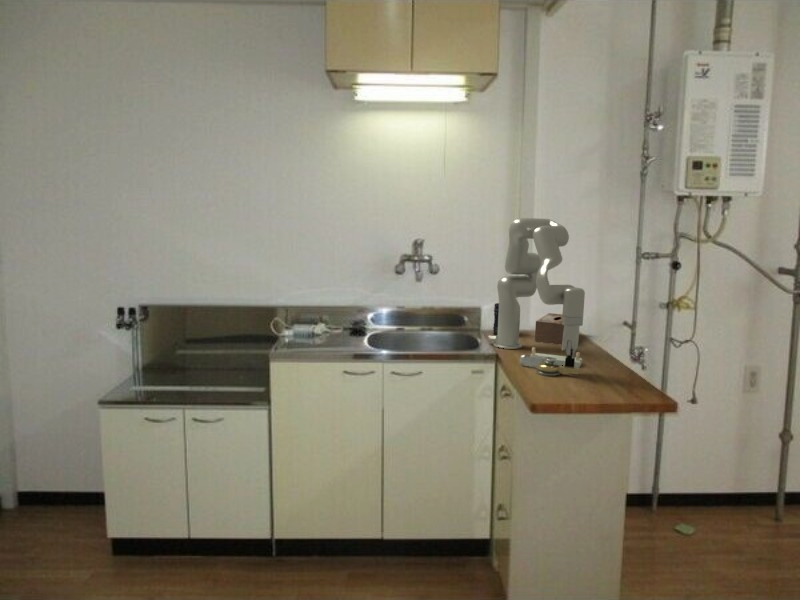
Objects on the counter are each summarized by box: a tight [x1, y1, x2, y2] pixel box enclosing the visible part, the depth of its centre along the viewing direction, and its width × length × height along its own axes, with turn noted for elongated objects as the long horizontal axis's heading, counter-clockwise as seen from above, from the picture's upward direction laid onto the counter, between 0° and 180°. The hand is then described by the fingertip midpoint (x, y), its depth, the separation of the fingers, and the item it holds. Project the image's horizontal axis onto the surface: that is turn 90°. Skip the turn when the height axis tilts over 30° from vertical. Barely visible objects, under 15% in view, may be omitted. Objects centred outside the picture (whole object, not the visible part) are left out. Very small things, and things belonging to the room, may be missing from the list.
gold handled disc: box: [537, 360, 580, 375], centre depth 229 cm, size 15×8×3 cm, turn 67°
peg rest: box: [530, 347, 583, 368], centre depth 247 cm, size 20×8×5 cm, turn 67°
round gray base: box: [535, 368, 562, 377], centre depth 231 cm, size 9×9×1 cm
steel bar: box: [519, 353, 556, 368], centre depth 240 cm, size 4×14×4 cm, turn 67°
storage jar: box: [492, 302, 499, 336], centre depth 299 cm, size 10×10×15 cm
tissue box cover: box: [534, 312, 564, 346], centre depth 293 cm, size 26×14×10 cm, turn 153°
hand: (569, 368), depth 232 cm, fingers closed
